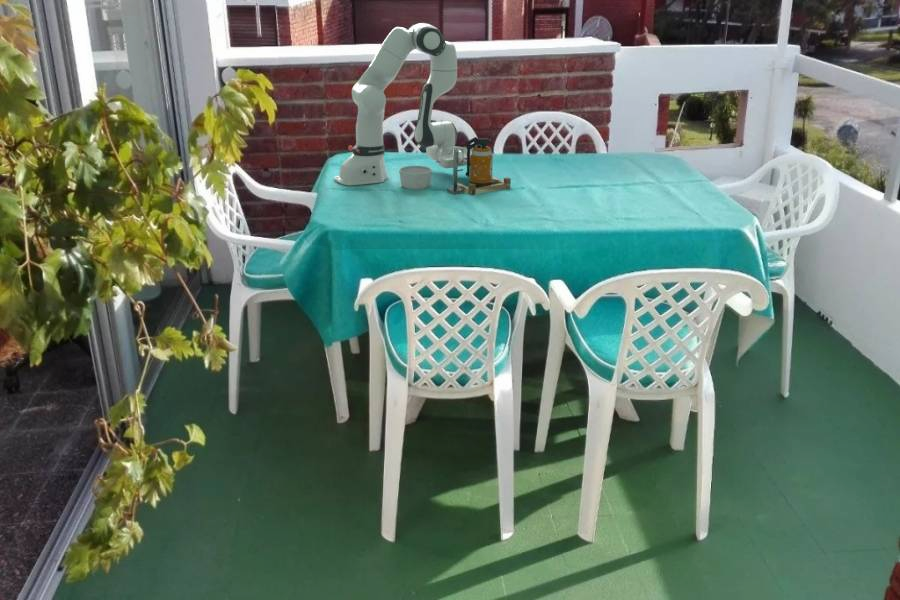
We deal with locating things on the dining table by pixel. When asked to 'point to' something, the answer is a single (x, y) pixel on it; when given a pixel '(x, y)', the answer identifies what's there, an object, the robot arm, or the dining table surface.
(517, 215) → the dining table surface
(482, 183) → the canister
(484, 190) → the cradle
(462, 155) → the mirror on stand
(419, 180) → the ramekin
